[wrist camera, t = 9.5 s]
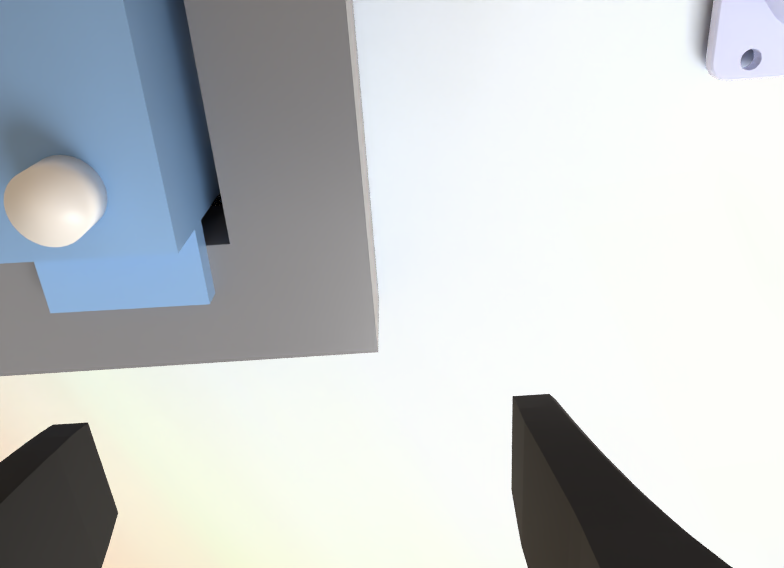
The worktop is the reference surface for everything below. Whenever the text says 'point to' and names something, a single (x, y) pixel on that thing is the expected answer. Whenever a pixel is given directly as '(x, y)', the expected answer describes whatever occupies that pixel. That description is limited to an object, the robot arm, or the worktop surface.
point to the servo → (104, 153)
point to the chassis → (247, 210)
